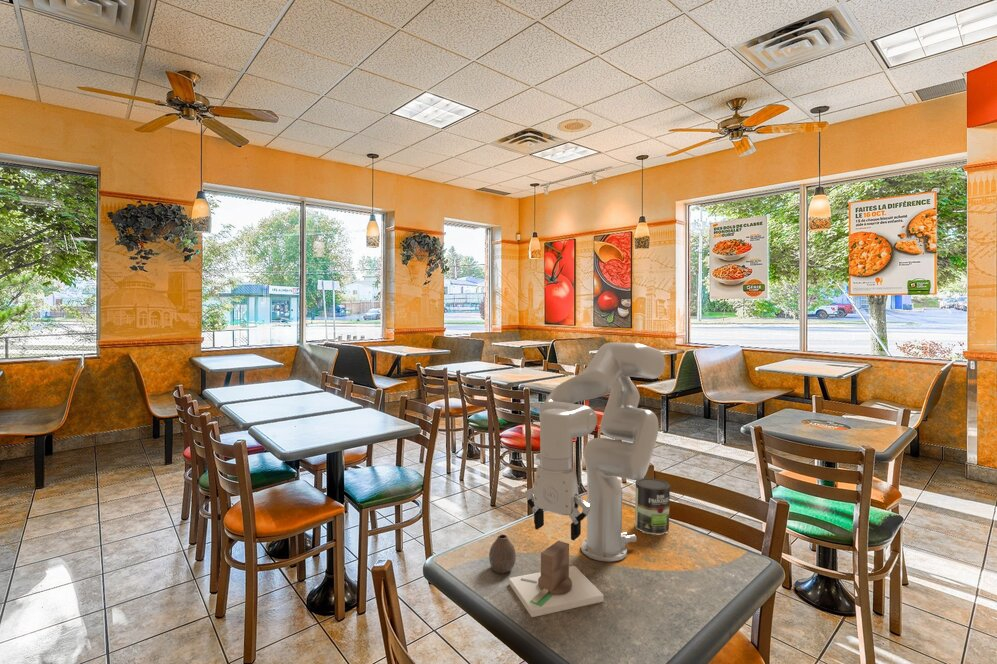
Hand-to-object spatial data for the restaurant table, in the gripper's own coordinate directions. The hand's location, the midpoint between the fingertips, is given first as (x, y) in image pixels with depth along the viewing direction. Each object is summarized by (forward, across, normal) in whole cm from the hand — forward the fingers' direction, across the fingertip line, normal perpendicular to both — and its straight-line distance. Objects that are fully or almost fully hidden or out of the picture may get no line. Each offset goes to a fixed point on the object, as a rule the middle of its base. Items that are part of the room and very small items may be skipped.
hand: (556, 532), depth 117 cm
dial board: (+14, 0, -1) cm, 14 cm away
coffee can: (+16, +7, +48) cm, 51 cm away
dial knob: (+12, 0, -4) cm, 13 cm away
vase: (+14, -16, 0) cm, 22 cm away
